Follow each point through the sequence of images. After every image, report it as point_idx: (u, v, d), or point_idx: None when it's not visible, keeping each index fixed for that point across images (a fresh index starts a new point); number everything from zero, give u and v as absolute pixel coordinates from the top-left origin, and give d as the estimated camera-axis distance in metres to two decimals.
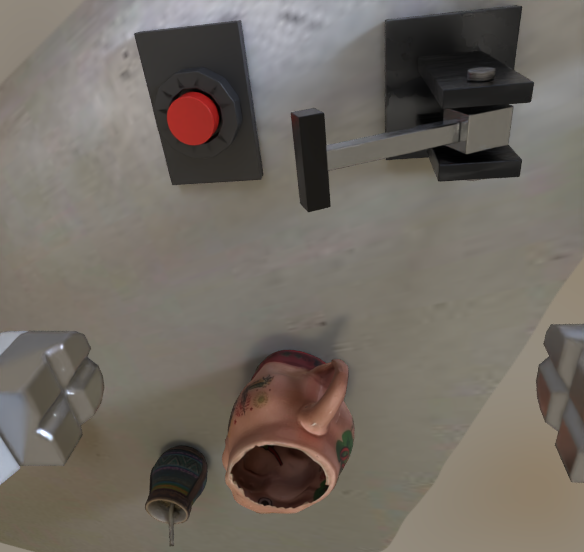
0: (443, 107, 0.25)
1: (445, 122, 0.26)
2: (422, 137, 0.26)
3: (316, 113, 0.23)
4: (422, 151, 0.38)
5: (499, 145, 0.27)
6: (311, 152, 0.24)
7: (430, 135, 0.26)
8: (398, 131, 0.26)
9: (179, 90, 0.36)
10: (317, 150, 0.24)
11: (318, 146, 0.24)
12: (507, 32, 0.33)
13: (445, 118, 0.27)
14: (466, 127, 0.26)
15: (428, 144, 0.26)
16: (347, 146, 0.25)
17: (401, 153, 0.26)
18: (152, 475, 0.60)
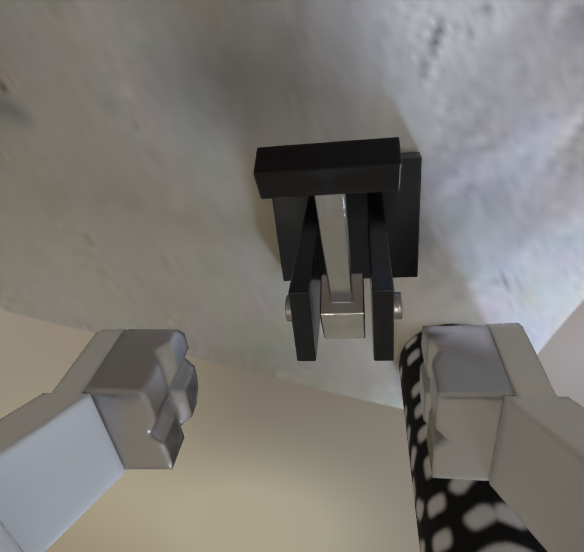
0: (374, 291, 0.22)
1: None
2: (342, 276, 0.22)
3: (400, 181, 0.16)
4: (280, 206, 0.33)
5: (325, 333, 0.25)
6: (346, 177, 0.16)
7: (343, 281, 0.22)
8: (349, 249, 0.21)
9: None
10: (348, 184, 0.16)
11: (354, 185, 0.17)
12: (396, 268, 0.35)
13: (351, 276, 0.24)
14: (349, 310, 0.23)
15: (333, 280, 0.22)
16: (345, 212, 0.18)
17: (326, 261, 0.21)
18: None
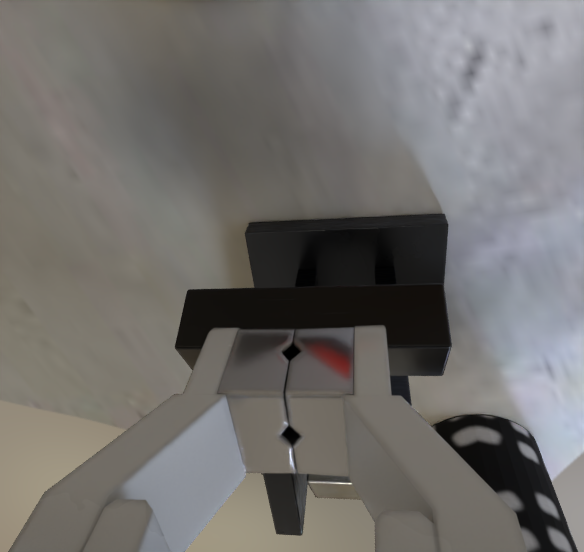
0: None
1: None
2: None
3: None
4: (262, 279, 0.26)
5: (317, 494, 0.18)
6: None
7: None
8: None
9: None
10: None
11: None
12: None
13: None
14: None
15: None
16: None
17: None
18: None
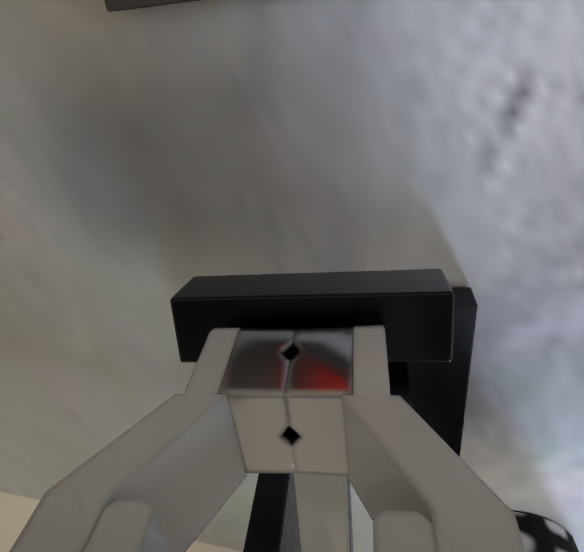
0: None
1: None
2: None
3: None
4: None
5: None
6: (345, 320, 0.08)
7: None
8: (351, 522, 0.11)
9: None
10: None
11: None
12: None
13: None
14: None
15: None
16: None
17: (303, 539, 0.10)
18: None
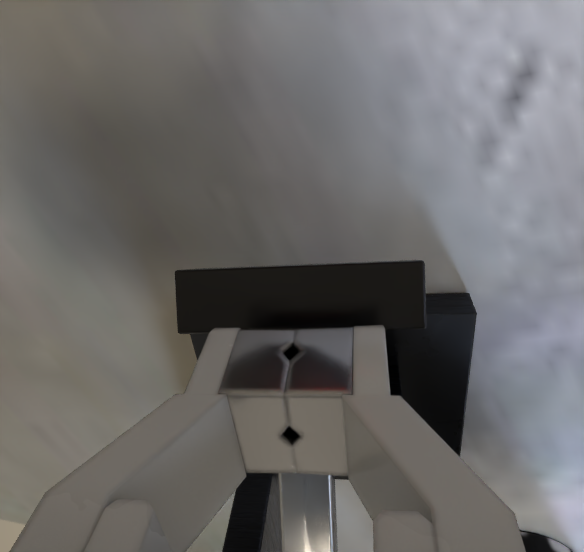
0: None
1: None
2: None
3: None
4: None
5: None
6: (330, 288, 0.09)
7: None
8: (336, 531, 0.10)
9: None
10: (332, 305, 0.09)
11: (342, 308, 0.09)
12: None
13: None
14: None
15: None
16: None
17: (285, 540, 0.10)
18: None
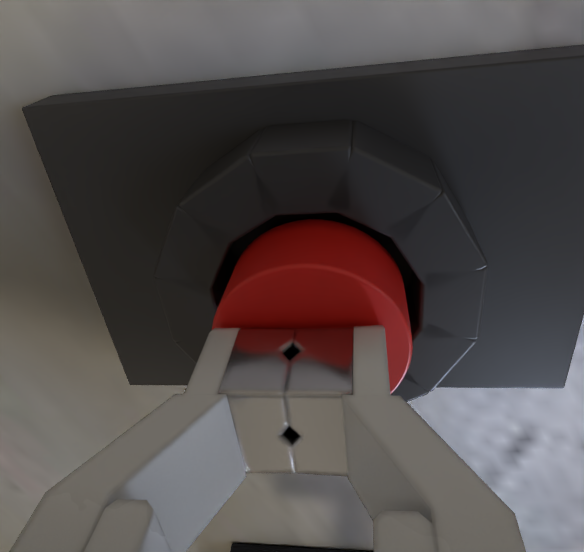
0: None
1: None
2: None
3: None
4: None
5: None
6: None
7: None
8: None
9: (419, 272, 0.09)
10: None
11: None
12: None
13: None
14: None
15: None
16: None
17: None
18: None
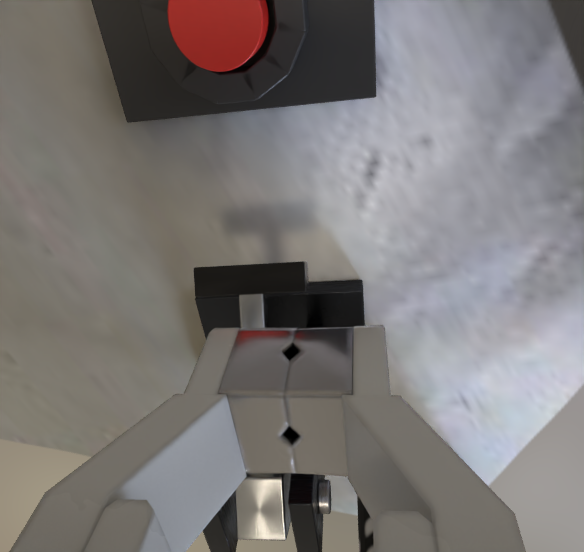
0: (290, 504, 0.19)
1: None
2: None
3: (305, 283, 0.21)
4: None
5: (239, 525, 0.21)
6: (263, 274, 0.21)
7: None
8: None
9: None
10: (265, 282, 0.21)
11: (269, 283, 0.21)
12: None
13: None
14: (266, 476, 0.21)
15: None
16: (264, 321, 0.21)
17: None
18: None
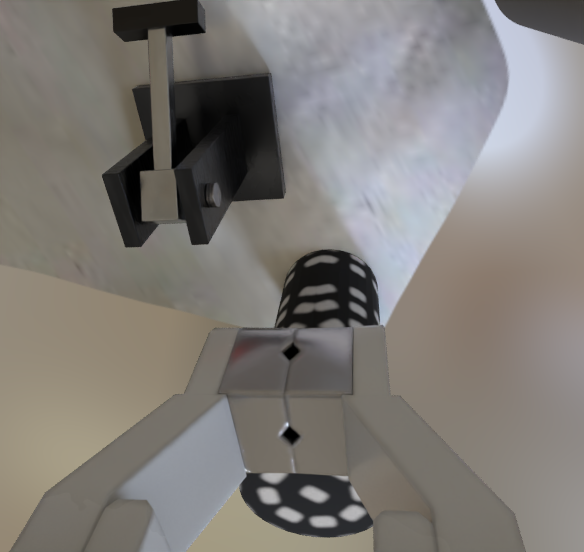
0: (175, 170, 0.24)
1: (175, 162, 0.27)
2: (163, 129, 0.27)
3: (198, 16, 0.26)
4: (148, 128, 0.35)
5: (142, 209, 0.26)
6: (166, 10, 0.26)
7: (164, 138, 0.27)
8: (174, 113, 0.27)
9: None
10: (166, 16, 0.26)
11: (170, 17, 0.26)
12: (263, 190, 0.37)
13: None
14: (165, 169, 0.26)
15: (156, 137, 0.27)
16: (166, 50, 0.27)
17: (152, 107, 0.27)
18: None
